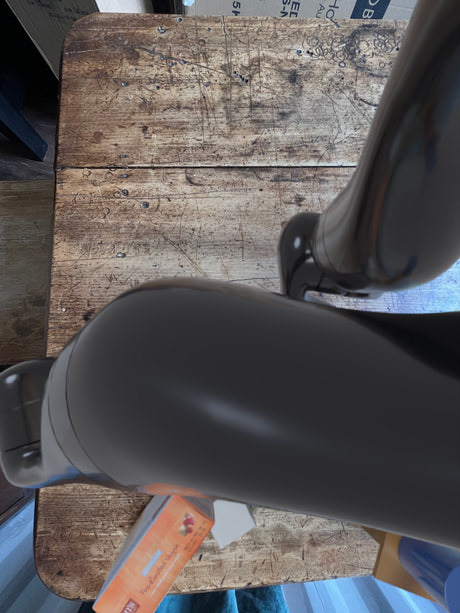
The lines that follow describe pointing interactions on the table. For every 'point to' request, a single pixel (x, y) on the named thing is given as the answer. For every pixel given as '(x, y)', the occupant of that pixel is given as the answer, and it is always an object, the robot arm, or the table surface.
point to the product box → (231, 521)
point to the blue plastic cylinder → (433, 570)
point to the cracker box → (155, 553)
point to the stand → (392, 563)
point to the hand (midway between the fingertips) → (270, 467)
